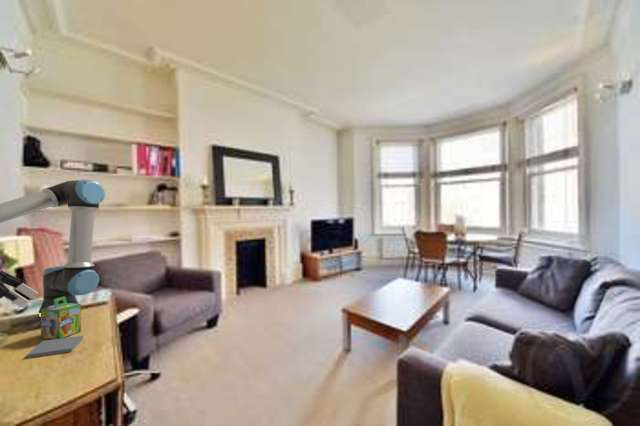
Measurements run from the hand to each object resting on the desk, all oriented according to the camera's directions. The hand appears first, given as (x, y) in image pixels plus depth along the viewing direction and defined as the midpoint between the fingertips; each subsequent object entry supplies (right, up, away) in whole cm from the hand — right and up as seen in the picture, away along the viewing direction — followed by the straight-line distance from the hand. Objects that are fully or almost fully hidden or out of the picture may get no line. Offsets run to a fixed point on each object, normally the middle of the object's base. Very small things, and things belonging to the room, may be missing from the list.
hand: (30, 300), depth 114 cm
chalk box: (+7, -16, +5) cm, 18 cm away
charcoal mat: (+16, -15, -6) cm, 23 cm away
